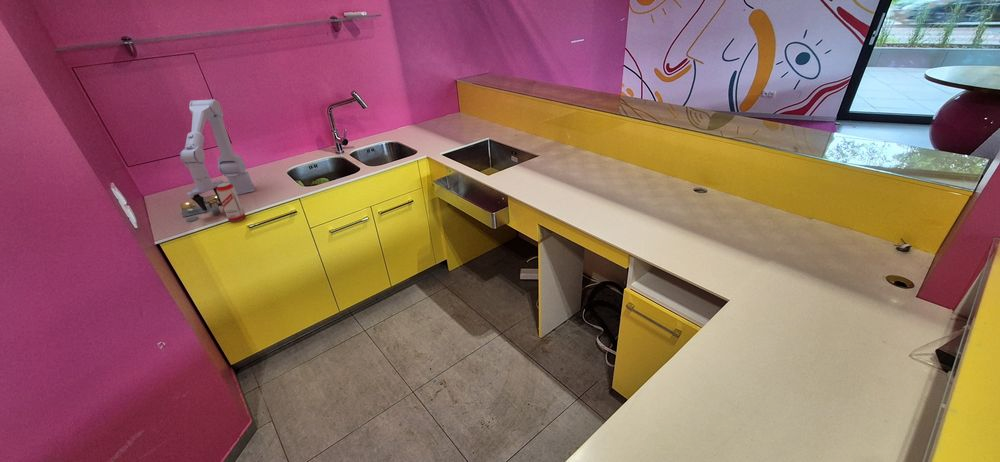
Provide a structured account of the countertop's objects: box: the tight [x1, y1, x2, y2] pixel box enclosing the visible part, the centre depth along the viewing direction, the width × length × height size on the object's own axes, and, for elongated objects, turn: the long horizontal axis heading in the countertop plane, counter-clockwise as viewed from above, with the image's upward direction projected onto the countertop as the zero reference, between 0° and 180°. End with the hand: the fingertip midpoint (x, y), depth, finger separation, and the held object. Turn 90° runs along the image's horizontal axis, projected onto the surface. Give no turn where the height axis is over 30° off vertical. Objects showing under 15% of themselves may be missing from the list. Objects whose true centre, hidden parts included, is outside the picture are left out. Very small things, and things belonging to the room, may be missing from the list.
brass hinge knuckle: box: [179, 200, 211, 218], centre depth 184 cm, size 10×8×4 cm
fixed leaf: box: [202, 194, 222, 205], centre depth 191 cm, size 10×10×4 cm
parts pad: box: [185, 215, 199, 223], centre depth 178 cm, size 4×4×1 cm
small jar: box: [206, 198, 222, 216], centre depth 180 cm, size 4×4×7 cm
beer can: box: [216, 181, 246, 223], centre depth 173 cm, size 6×6×16 cm
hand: (213, 206), depth 180 cm, fingers open, 7 cm apart
